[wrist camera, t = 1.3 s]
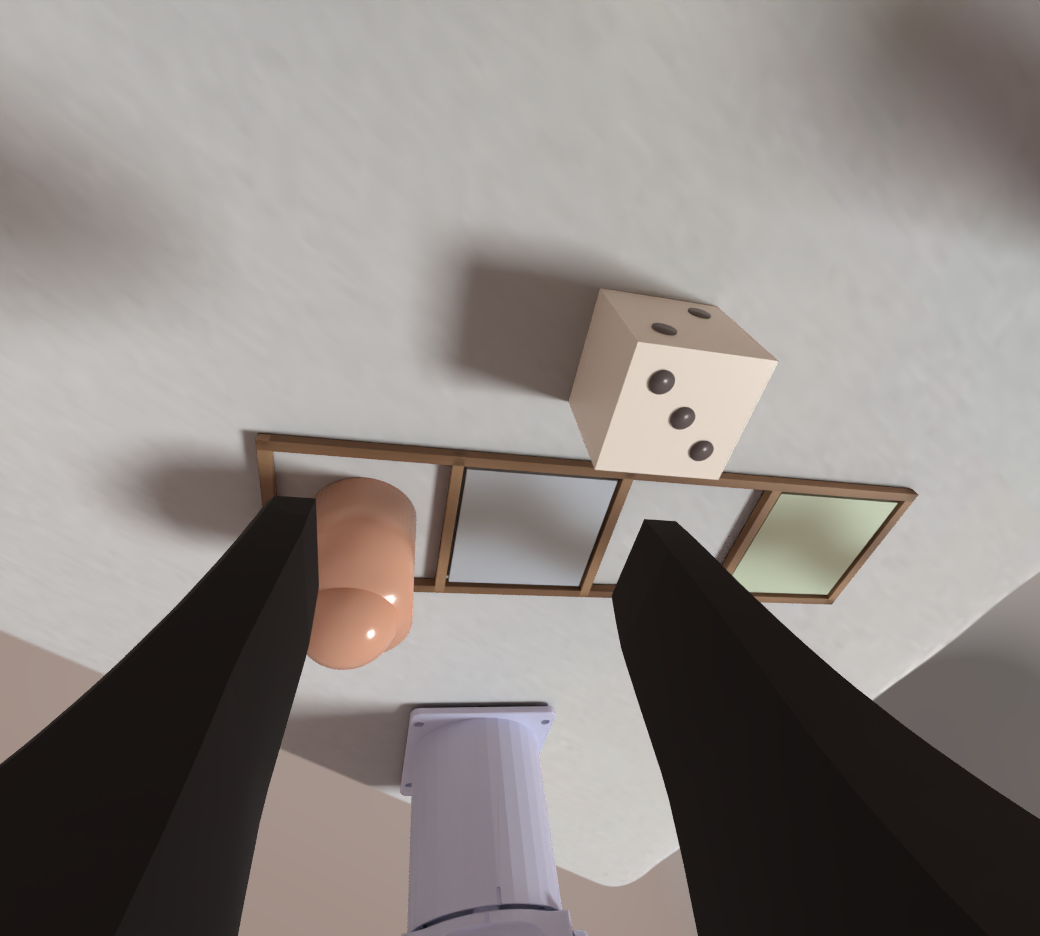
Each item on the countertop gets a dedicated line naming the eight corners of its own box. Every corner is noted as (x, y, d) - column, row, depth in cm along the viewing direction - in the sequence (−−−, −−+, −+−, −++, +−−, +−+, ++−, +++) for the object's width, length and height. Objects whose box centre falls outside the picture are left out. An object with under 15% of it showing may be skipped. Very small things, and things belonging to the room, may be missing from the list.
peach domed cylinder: (412, 557, 23) (406, 697, 18) (310, 553, 22) (273, 698, 17) (420, 482, 20) (415, 618, 15) (306, 473, 19) (262, 615, 14)
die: (673, 411, 20) (718, 480, 17) (568, 400, 19) (595, 470, 16) (717, 304, 18) (780, 360, 14) (600, 285, 17) (639, 340, 13)
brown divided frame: (826, 598, 28) (831, 604, 28) (273, 579, 22) (271, 587, 22) (912, 488, 24) (918, 494, 23) (258, 433, 18) (255, 439, 18)
